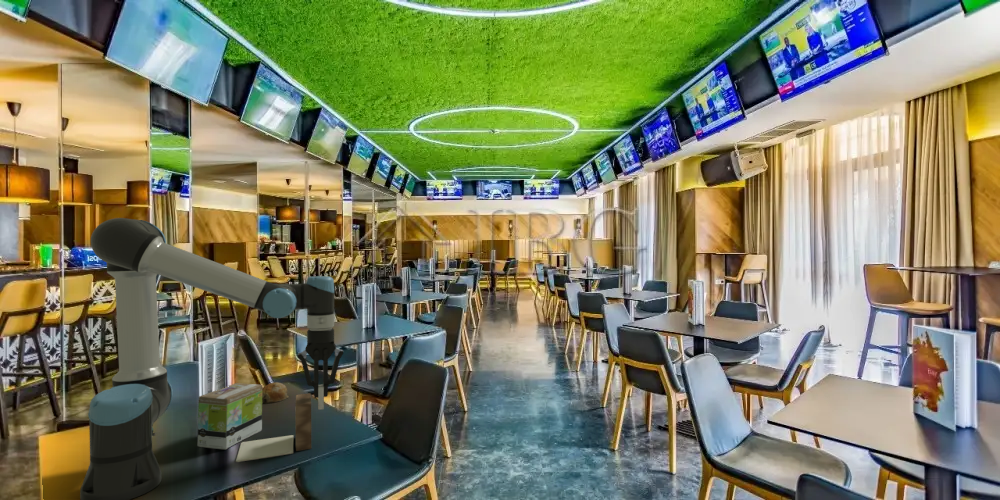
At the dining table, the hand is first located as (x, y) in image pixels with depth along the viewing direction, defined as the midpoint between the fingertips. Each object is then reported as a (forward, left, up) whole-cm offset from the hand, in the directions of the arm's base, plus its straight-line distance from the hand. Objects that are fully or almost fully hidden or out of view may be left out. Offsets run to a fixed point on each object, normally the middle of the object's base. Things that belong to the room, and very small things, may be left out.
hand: (320, 407), depth 142 cm
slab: (-5, 0, -10) cm, 11 cm away
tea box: (-25, +12, -10) cm, 29 cm away
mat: (-15, 0, -10) cm, 17 cm away
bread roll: (-15, +48, -10) cm, 51 cm away
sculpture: (-48, +25, -10) cm, 55 cm away
